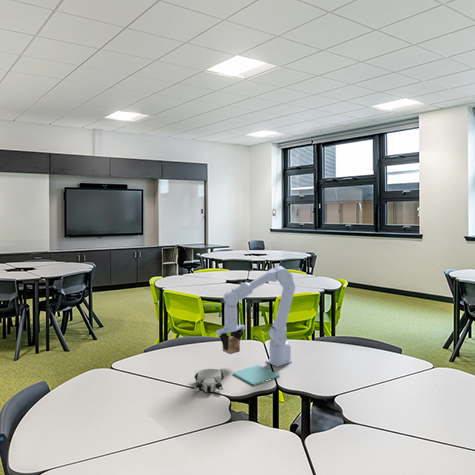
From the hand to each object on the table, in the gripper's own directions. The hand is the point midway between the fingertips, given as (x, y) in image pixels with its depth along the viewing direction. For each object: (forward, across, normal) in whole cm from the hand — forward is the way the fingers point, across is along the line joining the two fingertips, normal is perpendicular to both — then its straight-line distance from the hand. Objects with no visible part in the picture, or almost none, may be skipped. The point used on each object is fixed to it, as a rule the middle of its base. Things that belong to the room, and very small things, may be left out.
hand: (231, 347), depth 187 cm
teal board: (+8, -2, +15) cm, 17 cm away
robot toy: (+9, +19, +11) cm, 24 cm away
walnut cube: (+2, 0, 0) cm, 2 cm away
